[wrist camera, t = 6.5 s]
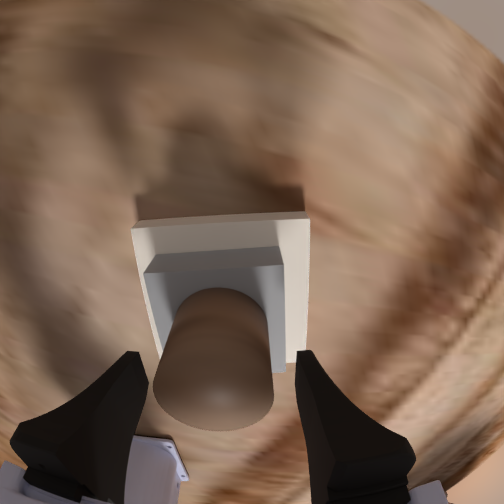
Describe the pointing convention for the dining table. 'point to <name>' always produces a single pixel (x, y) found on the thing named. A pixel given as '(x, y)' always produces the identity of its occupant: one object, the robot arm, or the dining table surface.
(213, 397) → the walnut cylinder
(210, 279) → the top block
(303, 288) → the base block
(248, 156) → the dining table surface
